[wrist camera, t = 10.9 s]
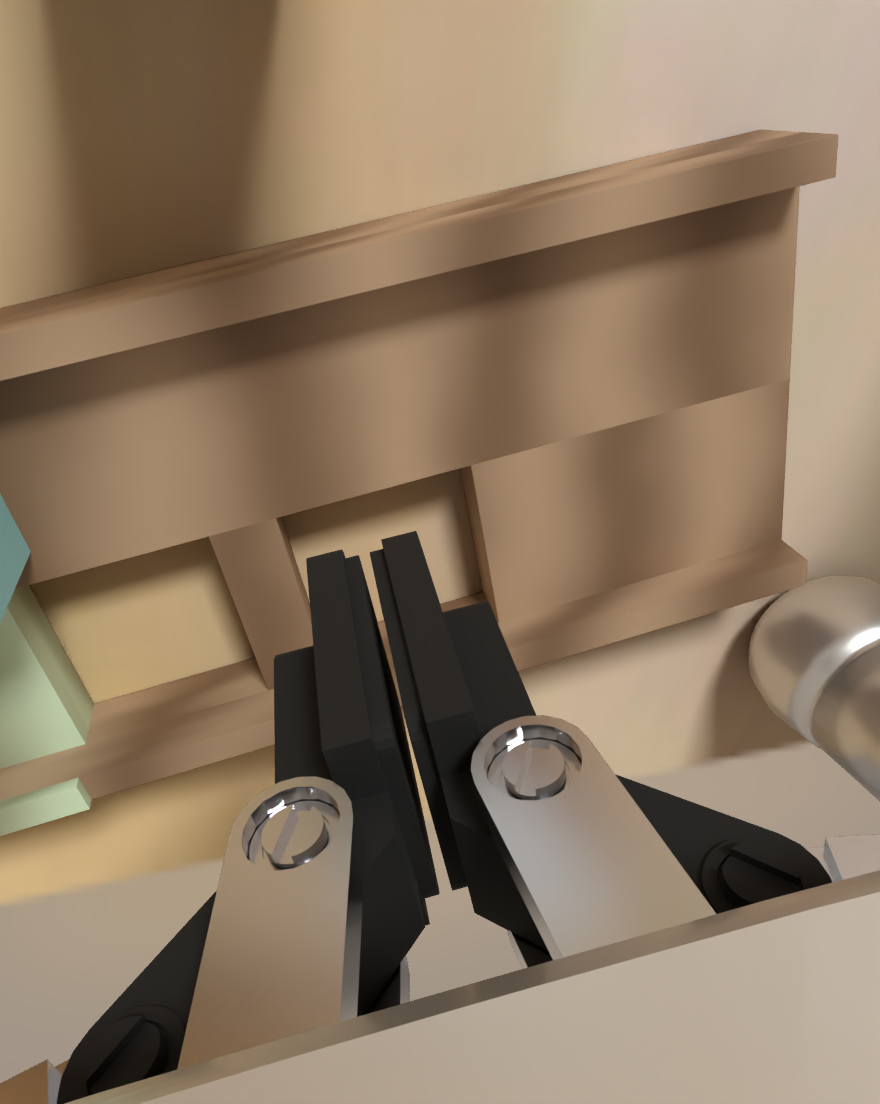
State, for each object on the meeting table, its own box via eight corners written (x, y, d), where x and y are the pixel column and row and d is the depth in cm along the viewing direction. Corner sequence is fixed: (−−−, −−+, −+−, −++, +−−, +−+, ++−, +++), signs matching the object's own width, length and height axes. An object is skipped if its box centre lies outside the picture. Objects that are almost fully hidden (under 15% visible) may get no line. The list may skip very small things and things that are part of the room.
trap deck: (760, 129, 23) (865, 136, 19) (749, 537, 31) (823, 599, 27) (-334, 386, 20) (-465, 453, 16) (-56, 772, 27) (-101, 881, 24)
